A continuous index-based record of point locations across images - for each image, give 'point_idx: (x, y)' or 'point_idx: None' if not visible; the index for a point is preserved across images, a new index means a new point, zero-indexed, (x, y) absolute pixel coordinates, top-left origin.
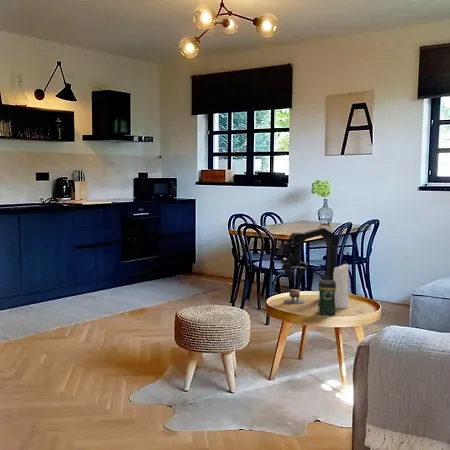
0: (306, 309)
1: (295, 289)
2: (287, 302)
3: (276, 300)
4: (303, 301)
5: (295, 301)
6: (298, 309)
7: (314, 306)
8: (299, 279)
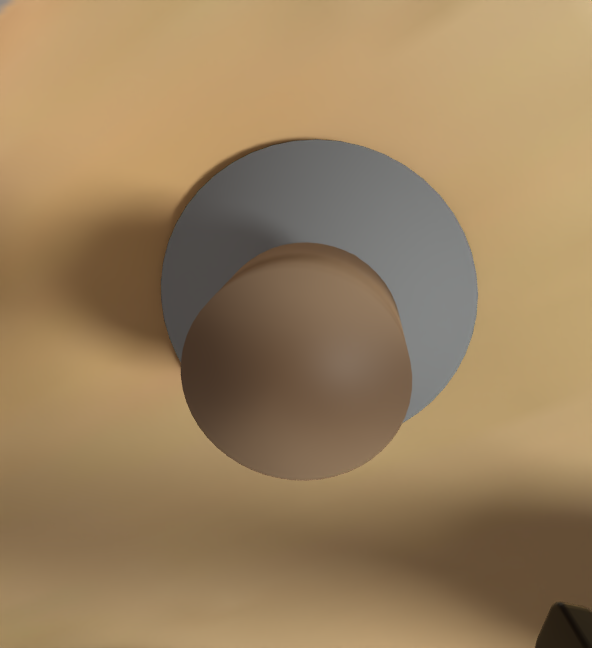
0: (79, 568)
1: (395, 356)
2: (164, 270)
3: (199, 12)
4: None
5: None
6: (12, 509)
7: (260, 587)
8: (541, 632)
